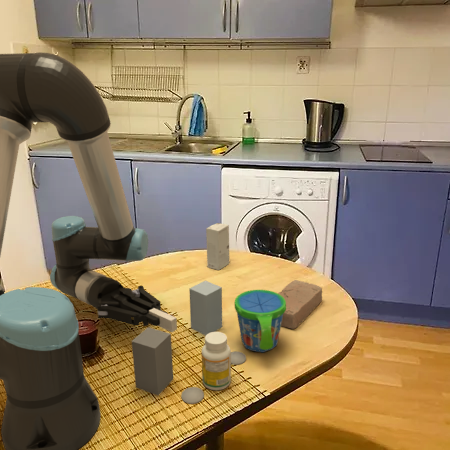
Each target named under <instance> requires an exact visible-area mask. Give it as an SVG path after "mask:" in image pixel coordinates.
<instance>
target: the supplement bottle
mask: <svg viewBox="0 0 450 450" xmlns="http://www.w3.org/2000/svg"><path fill="white" fill-rule="evenodd" d="M231 352H232V351H231V348H230V345H228V337H227V334H225V333H224V332H221V331H215V332H211V333H208V334H207V335H206V336H205V335H204V344H203V346H202V348H201V373H202V374H201V375H202V376H201V379H202V383H203V385H204V386H205V388H207V389H208V390H212V391H221V390H224V389H227V387H228V386H230V384H231V381H232V380H231V379H232V374H231V373H232V364H231Z"/></svg>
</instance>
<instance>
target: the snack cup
mask: <svg viewBox="0 0 450 450" xmlns="http://www.w3.org/2000/svg"><path fill="white" fill-rule="evenodd" d="M278 293H279V292H278ZM278 293H277V292H275V291H272V290H269V289H268V290H266V289H251V290H246V291H243V292H241V293H239V294H238V295H237V296H236V298H235V300H234V310H235V312H236V315H237V321H238V322H237V323H238V327H239V332H240V339H241V342H242V344H243V346H244V347H245V349H246V350H250V351H253V352H258V353H266V352H267V351H272V350H273V349H275V347H277V345H278V342H279V338H280V332H281V328H282V326H281V323H282V318H283V313H284V312H285V311H286V301H285V299H284V298H283V297H282V296H281V295H280V294H278Z"/></svg>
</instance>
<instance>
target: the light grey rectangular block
mask: <svg viewBox="0 0 450 450" xmlns="http://www.w3.org/2000/svg"><path fill="white" fill-rule="evenodd" d="M189 310H190V329H191V330H193V331H196V332H198V333H200V334H202V335H203V336H204V337H205V336H206V335H207V334H208V333H211V332H217V331H218V330H220V329H221V328H222V327H223V287H222V286H219V285H218V284H216V283H215V284H214V283H212V282H210V281H207V280H204V281H202V282H199V283H197V284H195V285H194V286H191V287H190V288H189Z"/></svg>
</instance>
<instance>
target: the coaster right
mask: <svg viewBox="0 0 450 450" xmlns="http://www.w3.org/2000/svg"><path fill="white" fill-rule="evenodd" d="M246 360H247V356H246V354H245V353H244V352H241V351H237V350H236V351H231V365H235V366H237V365H242V364H244V363H245V362H246Z"/></svg>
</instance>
